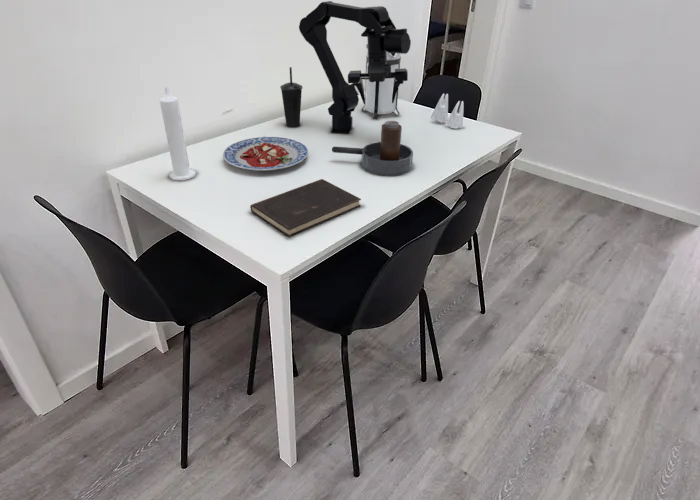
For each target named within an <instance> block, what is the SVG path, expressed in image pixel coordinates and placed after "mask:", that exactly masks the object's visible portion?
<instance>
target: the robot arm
mask: <svg viewBox="0 0 700 500" xmlns="http://www.w3.org/2000/svg"><path fill="white" fill-rule="evenodd" d="M331 18H335V19H340V20H344V21H345V20H346V21H349V22H350V21H351V22H355V23H358V25H360V26H361V27H363V28H365V29H364V31H363V32H362V33H360V36H361V37H363V38H367V44H368V73H366V72H362V70H350V71H349V72H348V74H347V81H346V79H345V77H344V75H343V73H342V71H341V68H340V67H339V64H338V62H337V60H336V58H335V56H334V53H333V51H332V49H331V47H330V45H329V43H328V30H327V27H326V26H327V25H328V23H329V22H330V20H331ZM298 29H299V33H300V34H301V36H302V37H303V39H304V40H305V42H307V43H308V44H309V45H310V46H311V47H312V48H313V50H314V51H315V54H316V56H317V58H318V60H319V62H320V65H321V67H322V69H323V71H324V73H325V75H326V77H327V78H326V79H327V80H328V82H329V84H330V86H331V98H332V101H333V103H332V104H331V105H330V106H329V107H328V108H327V112H328V115H329V116H331V130H330V133H332V134H333V133H335V134H347V135H348V134H350V133H351V131H352V130H353V123H354V121H353V119H354V118H353V116H352V112H355V109H356V107H357V106H358V105H359V101H360V98H359V95H360V97H361V100H362V104H363V105H365V88H364V81H363V80H366V79H369V81H370V82H375V81H380V82H383V81H385V79H386V78H394V85H393V94H392V103H393V102H394V99H395V96H396V92H397V90H398V91H399V87H400V85H402V84H404V82H407V81H408V78H409V77H408V75H409V74H408V69H407V68H405V67H404V68H400V69H395V72H391V64H387V56H386V51H387V52H388V53H400V55H401V54H402V55H403V54H404V55H406V54H408V52H409V51H410V49H411V45H412V42H411V41H412V40H411V38H410V35H409V33H408V28H397V27H396V26H395V24H394V22H393V20H392V19H391V17H390V15H389V11H388V10H387V8H386V6H381V5H380V6H377V5H376V6H365V7H361V6H357V5H356V6H355V5H349V4H344V3H340V2H334V1H332V0H327V1H322V2H320V3H319V4H318V5H317V7H315V8H314V9H313V10H312V11H311V12H310V13H308V14H307V15H306V16H305V17H302V18H301V19H300V21H299V25H298ZM383 33H384V34H383ZM357 90H358V91H357Z"/></svg>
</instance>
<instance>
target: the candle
mask: <svg viewBox="0 0 700 500" xmlns="http://www.w3.org/2000/svg"><path fill="white" fill-rule="evenodd" d="M159 105H160V110H161V114H162V121H163V126H164V131H165V135H166V140H167V145H168V146H167V147H168V150H169V157H170V160H171V165H172V169H173V170H171V171H170V172H169V178H170V180H173V181H177V182H178V181H188V180H191V179H193V178H194V177H195V176H196V170H195V169H193V168H191V167H190V160H189V155H188V149H187V144H186V139H185V132H184V126H183V121H182V116H181V111H180V104H179V99H178V97H177V96H174V95H173V94H172V93H171V92H170V90H169V87H168V86H167V85H166V86H164V95H163V96H161V97H160V99H159Z"/></svg>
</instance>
